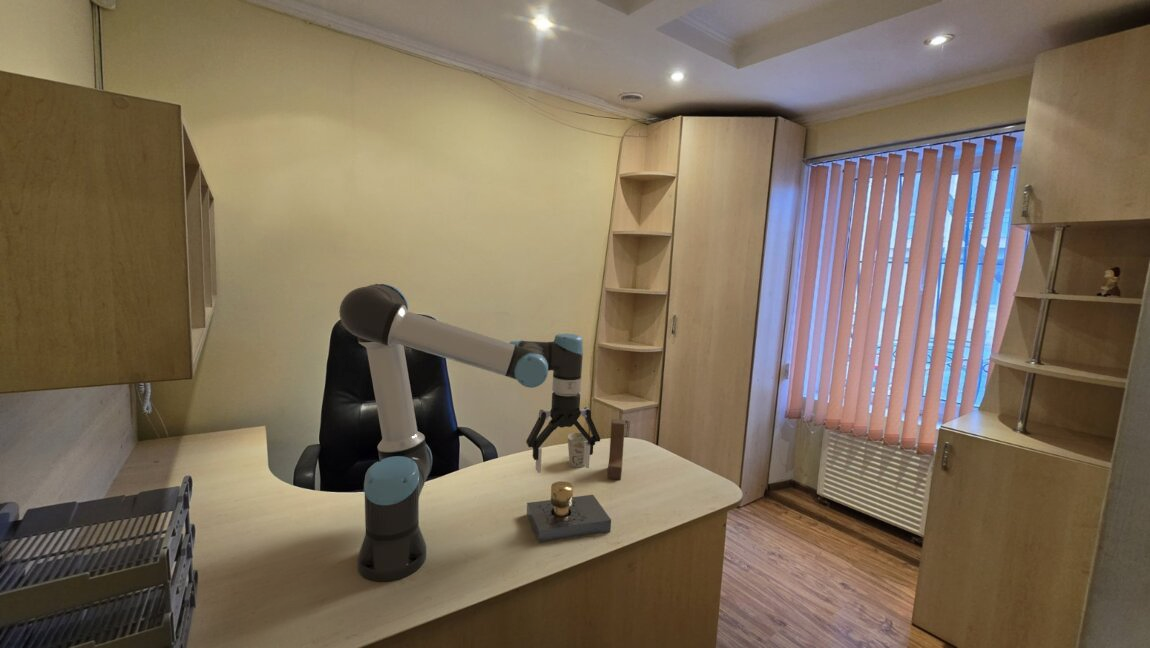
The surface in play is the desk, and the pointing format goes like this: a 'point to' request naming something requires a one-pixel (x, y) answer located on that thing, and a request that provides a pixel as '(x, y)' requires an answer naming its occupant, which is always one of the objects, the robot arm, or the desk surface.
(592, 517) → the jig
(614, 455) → the wooden block
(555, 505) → the knob
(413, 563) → the robot arm
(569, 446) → the mug
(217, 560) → the desk surface
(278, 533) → the desk surface
